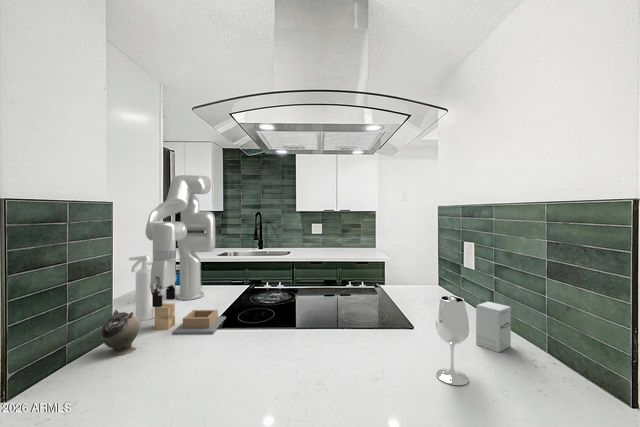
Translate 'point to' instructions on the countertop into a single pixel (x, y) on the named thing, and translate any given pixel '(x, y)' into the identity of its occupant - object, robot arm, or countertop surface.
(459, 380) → the wineglass
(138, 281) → the fire extinguisher
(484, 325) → the supplement box
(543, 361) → the countertop surface
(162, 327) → the oak block
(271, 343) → the countertop surface
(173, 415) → the countertop surface
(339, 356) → the countertop surface
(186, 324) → the base board
